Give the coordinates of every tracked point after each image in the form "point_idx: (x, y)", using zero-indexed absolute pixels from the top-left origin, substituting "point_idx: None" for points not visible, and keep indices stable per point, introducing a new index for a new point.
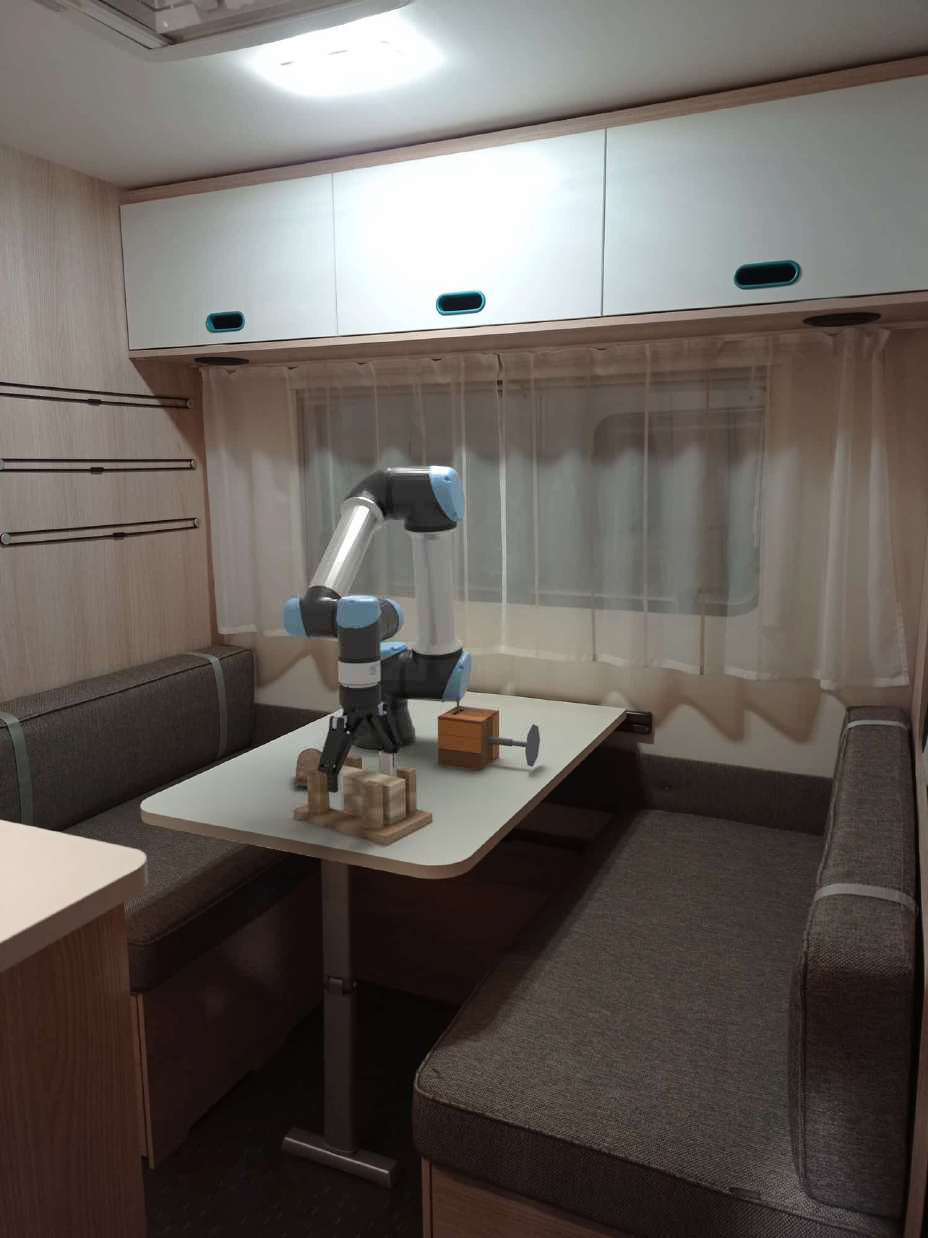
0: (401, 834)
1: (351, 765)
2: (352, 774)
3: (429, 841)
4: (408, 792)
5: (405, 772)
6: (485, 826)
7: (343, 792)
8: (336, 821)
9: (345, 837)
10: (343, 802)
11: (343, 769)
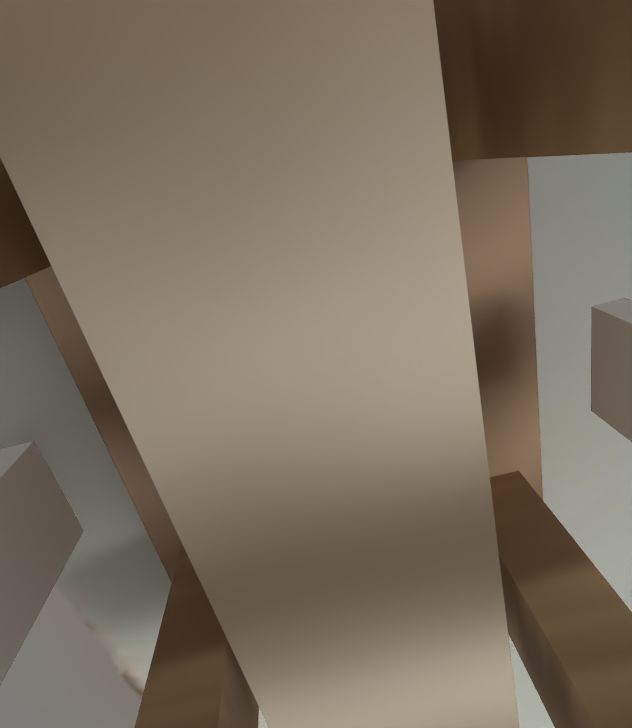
0: None
1: (572, 70)
2: (264, 504)
3: None
4: (524, 656)
5: None
6: None
7: (20, 645)
8: (97, 406)
9: (108, 485)
10: (58, 572)
11: (290, 254)
